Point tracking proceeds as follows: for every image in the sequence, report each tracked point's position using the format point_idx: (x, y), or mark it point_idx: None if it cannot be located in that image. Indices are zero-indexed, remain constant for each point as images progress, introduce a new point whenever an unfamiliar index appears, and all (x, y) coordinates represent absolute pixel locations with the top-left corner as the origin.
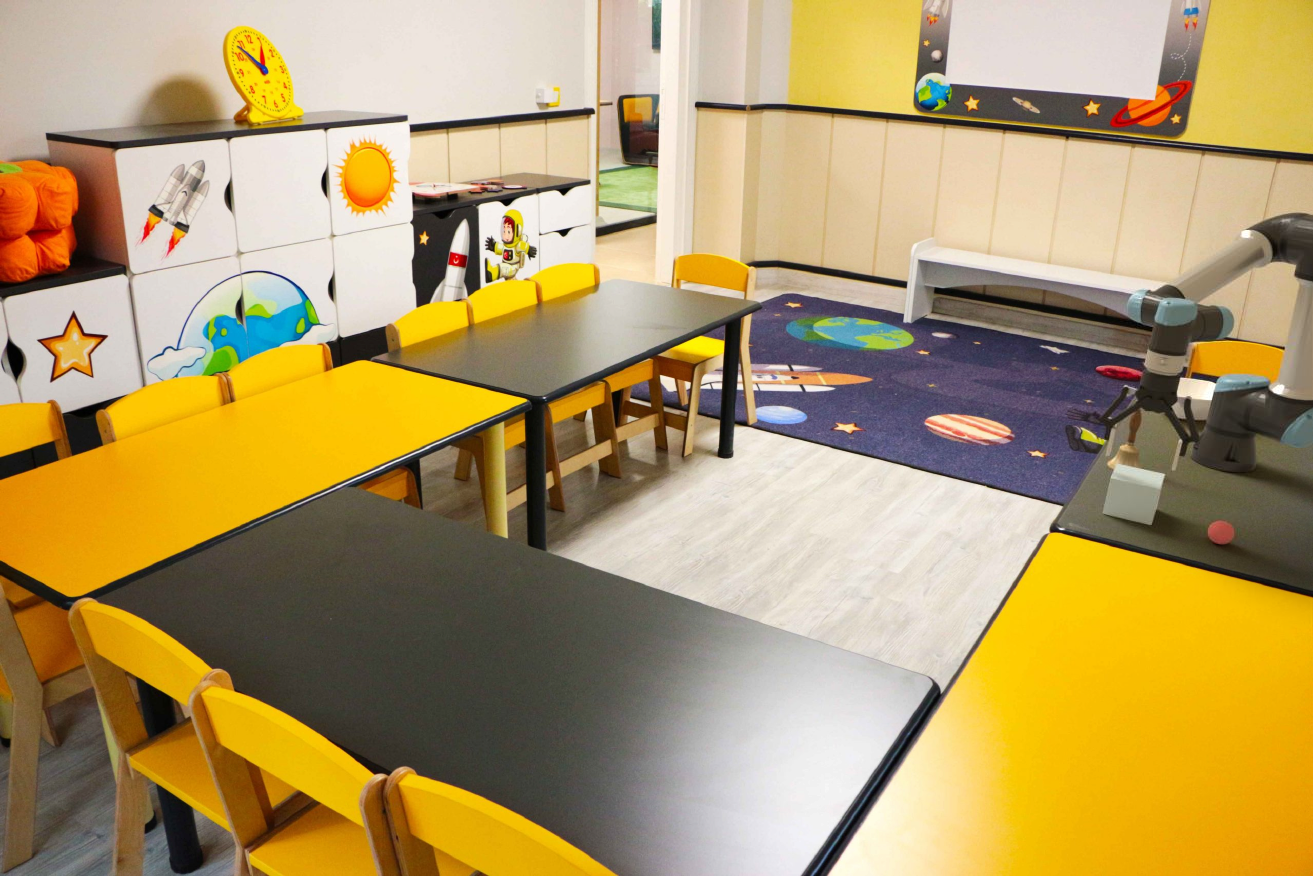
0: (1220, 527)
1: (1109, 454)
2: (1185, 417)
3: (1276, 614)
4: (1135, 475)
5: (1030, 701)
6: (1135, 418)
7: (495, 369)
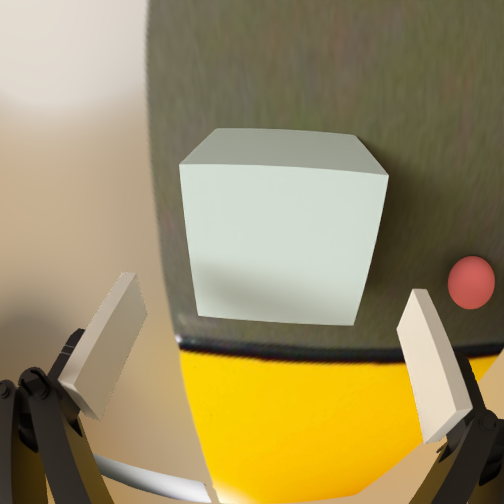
0: (468, 308)
1: (143, 315)
2: None
3: None
4: (270, 256)
5: (248, 484)
6: None
7: None
